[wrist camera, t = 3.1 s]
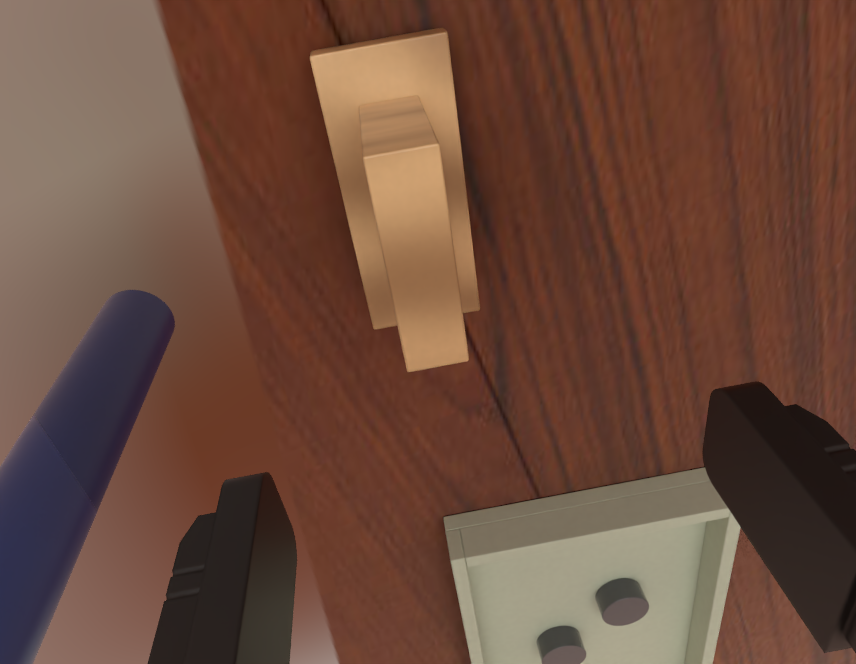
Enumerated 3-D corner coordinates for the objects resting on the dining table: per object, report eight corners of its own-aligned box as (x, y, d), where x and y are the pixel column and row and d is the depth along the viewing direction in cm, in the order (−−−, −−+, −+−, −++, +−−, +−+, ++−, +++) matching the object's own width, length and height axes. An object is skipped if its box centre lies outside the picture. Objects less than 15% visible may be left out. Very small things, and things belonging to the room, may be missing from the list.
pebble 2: (594, 610, 40) (601, 630, 39) (594, 582, 39) (602, 603, 38) (639, 601, 41) (648, 621, 39) (641, 573, 39) (650, 593, 38)
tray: (481, 705, 48) (488, 748, 45) (443, 516, 35) (450, 561, 33) (685, 665, 48) (704, 706, 45) (717, 464, 36) (746, 505, 33)
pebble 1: (537, 654, 43) (542, 674, 41) (535, 630, 41) (540, 651, 40) (580, 646, 43) (586, 666, 42) (579, 621, 41) (586, 642, 40)
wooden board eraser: (470, 281, 27) (510, 396, 21) (371, 299, 27) (380, 420, 21) (437, 21, 22) (479, 63, 15) (312, 43, 21) (297, 95, 15)
